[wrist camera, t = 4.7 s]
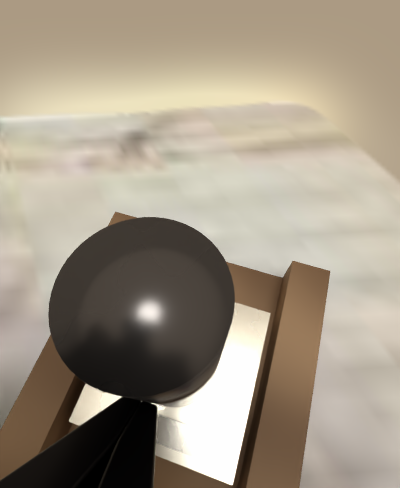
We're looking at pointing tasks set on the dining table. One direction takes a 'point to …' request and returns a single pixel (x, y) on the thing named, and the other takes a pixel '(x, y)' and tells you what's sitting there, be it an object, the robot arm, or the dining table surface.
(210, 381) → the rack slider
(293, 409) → the walnut guide
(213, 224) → the dining table surface
